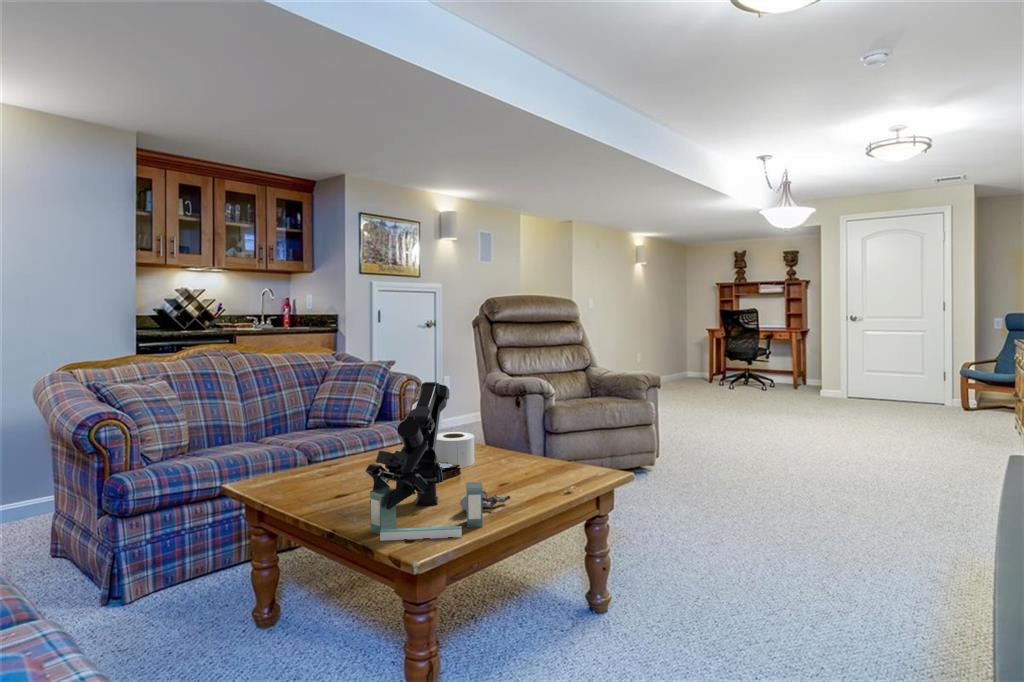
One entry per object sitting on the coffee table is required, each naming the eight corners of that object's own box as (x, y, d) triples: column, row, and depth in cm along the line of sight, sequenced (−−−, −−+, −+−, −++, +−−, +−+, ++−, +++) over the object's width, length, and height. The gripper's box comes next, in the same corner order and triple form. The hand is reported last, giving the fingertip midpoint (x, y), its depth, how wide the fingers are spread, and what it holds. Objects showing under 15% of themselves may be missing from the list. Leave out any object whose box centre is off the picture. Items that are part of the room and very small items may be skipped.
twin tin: (466, 521, 156) (466, 482, 156) (481, 520, 157) (481, 482, 156) (466, 528, 151) (466, 488, 150) (482, 527, 151) (482, 487, 151)
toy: (513, 499, 169) (483, 505, 157) (486, 515, 174) (455, 523, 161) (503, 477, 172) (473, 482, 160) (477, 494, 176) (446, 500, 164)
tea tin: (385, 525, 153) (385, 486, 152) (396, 529, 150) (396, 489, 150) (370, 531, 149) (369, 491, 148) (381, 535, 146) (380, 494, 146)
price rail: (380, 538, 144) (380, 529, 144) (461, 535, 146) (461, 526, 146) (380, 540, 143) (380, 531, 142) (461, 537, 145) (461, 528, 144)
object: (472, 469, 210) (472, 439, 210) (429, 469, 211) (429, 439, 210) (476, 458, 226) (475, 431, 225) (436, 458, 226) (436, 431, 226)
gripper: (370, 434, 157) (337, 483, 149) (419, 442, 146) (386, 496, 138) (392, 457, 164) (362, 506, 155) (441, 466, 153) (410, 520, 144)
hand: (379, 506), depth 148 cm, fingers open, 6 cm apart
